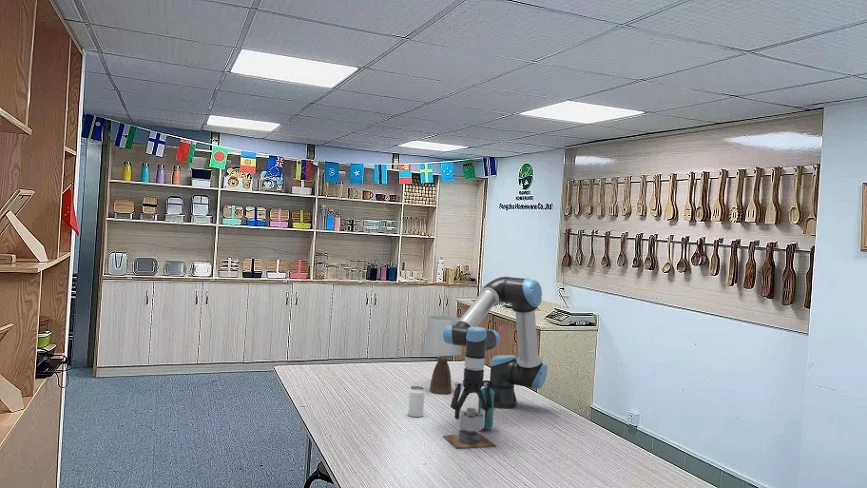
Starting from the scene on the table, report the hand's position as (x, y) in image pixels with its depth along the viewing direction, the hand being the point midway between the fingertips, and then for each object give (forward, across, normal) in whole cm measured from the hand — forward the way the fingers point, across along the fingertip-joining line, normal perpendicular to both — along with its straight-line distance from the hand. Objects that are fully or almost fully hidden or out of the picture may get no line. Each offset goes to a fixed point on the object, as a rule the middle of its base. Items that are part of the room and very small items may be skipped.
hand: (470, 426), depth 250 cm
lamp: (+6, -18, -76) cm, 79 cm away
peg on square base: (+6, 0, 0) cm, 6 cm away
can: (+6, +9, -37) cm, 38 cm away
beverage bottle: (+6, -13, -14) cm, 20 cm away
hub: (0, 0, 0) cm, 0 cm away
